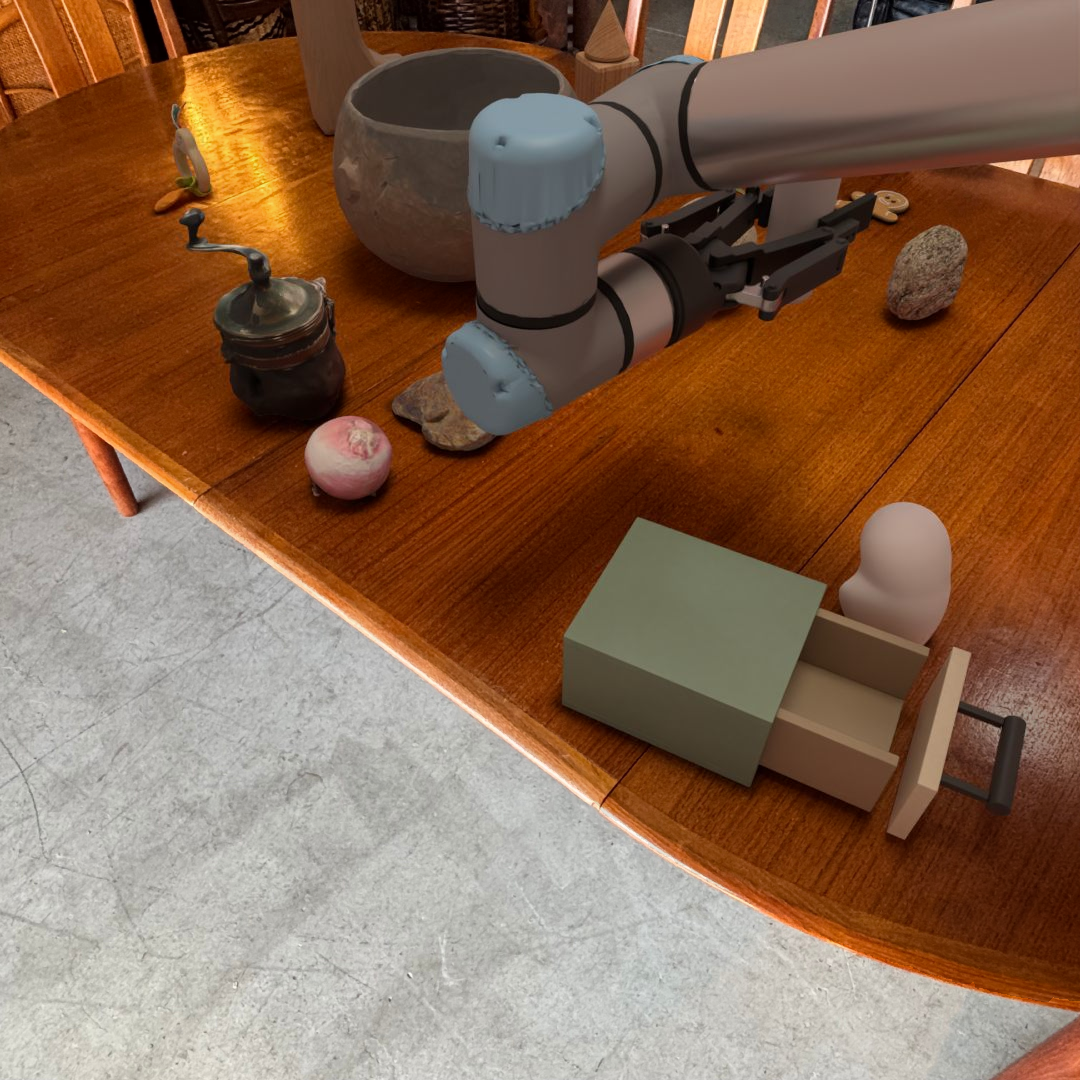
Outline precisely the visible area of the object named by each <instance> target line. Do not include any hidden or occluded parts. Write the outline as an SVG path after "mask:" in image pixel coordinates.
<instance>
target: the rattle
mask: <svg viewBox="0 0 1080 1080" xmlns="http://www.w3.org/2000/svg"><path fill="white" fill-rule="evenodd" d="M187 102H188V101H187V100H185V101H184V103H182V105H181V107H179V105H178V104H177V103H174V104H172V107H171V119H172V123H173V124H174V128H175V134H174V140H173V142H172V155H173V160H174V164H175V166H176V169H177V172H178V174H179V177H177V178H175V180H174V183H175V184H176V185H177V187H178V189H176V190H172V191H170V192H168V193H166V194H165V195H164V196H163V197H161V198H160V199H158V201H157V202H156V203H155V205H154V208H153V210H154V211H155V212H157V213H159V212H163V211H165V210H167V209H169V208H170V207H172V206H173V205H175V203H176V202H177V201H178V200H179V199H180V198H181V197H182V195H183V194H184V193H192V194H193V195H194V196H196V197H199V198H204V197H206V196H208V195H209V194H210V193H212V191H213V185H212V183H211V176H210V172H209V168H208V166H207V163H206V161H205V159H204V157H203V155H202V153H201V151H200V149H199V147H198V144H197V142H196V141H197V140H196V139H195V137H194V135H193V133H192V131H191V130H190V129H189V128H187V127H185V126H182V124H181V123H180V113H181V112H182V109H183V108H184V107H185V106H186V104H187ZM188 160H189V161H190V163H191V165H192V167H193V170H194V173H195V174H194V173H193V171H192V169H191V167H190V164H189V161H188Z"/></svg>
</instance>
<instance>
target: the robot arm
mask: <svg viewBox="0 0 1080 1080" xmlns="http://www.w3.org/2000/svg"><path fill="white" fill-rule="evenodd" d="M1069 156H1080V0H990V1H985V2H980V3H976V4H970V5H966V6H962V7H956V8H951V9H947V10H942V11H938V12H933V13H928V14H922V15H919V16H913V17H908V18H905V19H899V20H894V21H890V22H886V23H879V24H875V25H870V26H866V27H861V28H856V29H852V30H847V31H843V32H837V33H833V34H832V33H831V34H828V35H823V36H817V37H814V38H809V39H805V40H800V41H795V42H789V43H785V44H780V45H776V46H771V47H767V48H762V49H757V50H751V51H747V52H742V53H738V54H733V55H728V56H723V57H719V58H715V59H714V58H713V59H710V60H708V61H707V60H705V59H704V58H701V57H698V56H694V55H691V54H676V55H673V56H670V57H669V56H668V57H666V58H664V59H662V60H659V61H656V62H653V63H651V64H646V65H645V66H642V67H640V69H638V70H637V71H636V72H635V73H634V74H633V75H631V76H630V77H628V78H627V79H626V80H625V81H623V82H622V83H620V84H619V85H617V86H615V87H614V88H612V89H610V90H609V91H607V92H606V93H604V94H602V95H601V96H599V97H598V98H596V99H594V100H593V101H591V102H590V103H588V104H585V103H583V102H581V101H579V100H576V99H573V98H570V97H566V96H563V95H557V94H548V93H531V94H522V95H521V96H520V97H519V98H514V99H508V98H506V99H501V100H498V101H496V102H494V103H492V104H490V105H489V106H487V107H486V108H484V109H483V110H482V111H481V112H480V113H479V114H478V115H477V117H476V118H475V119H474V121H473V123H472V126H471V129H470V133H469V176H468V183H469V184H468V188H467V196H468V202H469V206H470V208H471V220H472V233H473V246H474V259H475V272H476V281H475V284H476V285H475V286H476V294H475V309H476V318H475V319H474V320H471V321H468V322H464V323H463V325H462V327H460V328H458V329H457V330H455V331H453V332H451V333H450V335H448V337H447V338H446V340H445V342H444V343H445V344H444V347H443V349H442V350H441V367H442V370H443V373H444V377H445V380H446V383H447V386H448V388H449V391H450V393H451V395H452V397H453V399H454V400H455V402H456V404H457V405H458V407H459V408H460V409H461V411H462V412H463V413H464V415H465V416H466V417H467V418H468V419H469V420H470V421H471V422H473V423H475V424H476V425H477V426H478V427H479V428H480V429H481V430H483V431H485V432H487V433H490V434H493V435H498V436H506V435H510V434H512V433H514V432H516V431H519V430H522V429H523V428H525V427H527V426H530V425H532V424H534V423H536V422H539V421H540V420H547V419H549V418H551V416H553V413H555V412H556V411H558V410H560V409H561V408H563V407H565V406H567V405H569V404H570V403H572V402H574V401H576V400H577V399H580V398H581V397H582V396H584V395H586V394H588V393H589V392H591V391H593V390H595V389H596V388H598V387H600V386H601V385H603V384H605V383H606V382H609V381H610V380H612V379H614V378H616V377H617V376H619V375H620V374H622V373H625V372H626V371H628V370H630V369H632V368H633V367H635V366H637V365H639V364H641V363H643V362H644V361H646V360H648V359H650V358H651V357H652V356H655V355H657V354H658V353H660V352H661V351H663V350H664V349H667V348H669V347H672V346H673V345H675V344H677V343H678V342H680V341H682V340H684V339H686V338H688V337H690V336H691V335H693V334H695V333H696V332H698V331H700V330H701V329H702V328H703V327H704V326H705V325H706V324H707V323H708V322H709V321H710V319H711V318H713V316H714V315H715V314H716V313H718V312H720V311H726V310H732V309H736V308H737V307H738V306H739V305H740V304H741V305H745V306H748V307H752V308H756V309H758V311H757V312H758V313H757V318H758V319H759V320H760V321H762V322H771V321H774V320H775V318H776V317H777V316H778V314H779V313H780V312H781V310H782V308H783V307H785V306H787V305H790V304H789V303H790V302H792V301H794V300H796V299H797V298H799V297H801V296H803V295H804V294H806V293H808V292H810V291H811V290H813V289H814V290H815V289H817V288H819V287H820V286H822V285H823V284H826V283H828V282H829V281H831V280H832V279H834V278H836V277H837V276H839V275H841V274H842V272H843V268H844V264H845V260H846V257H847V253H848V249H849V245H850V244H851V243H853V242H855V240H856V237H857V234H859V233H861V232H863V231H865V230H866V229H868V228H869V227H870V225H871V224H870V223H871V220H872V218H873V216H872V213H873V210H874V206H875V203H876V199H877V195H874V194H875V193H872V192H867V193H865V194H866V195H864V196H862V197H860V198H858V199H856V200H854V201H853V200H852V202H850V203H848V204H847V205H845V206H843V207H841V208H839V209H837V210H835V211H833V212H831V213H830V214H828V215H826V216H824V217H822V218H820V219H819V221H818V225H817V228H816V229H812V230H809V231H805V232H802V233H798V234H795V235H791V236H788V237H785V238H781V239H778V240H774V241H771V242H767V243H765V242H764V243H761V244H758V245H757V244H755V243H754V242H747V243H744V244H740V245H737V246H733V247H731V246H732V245H733V244H734V243H735V242H736V241H737V240H738V239H740V238H741V237H742V236H743V235H744V234H745V233H746V232H747V231H748V230H749V229H750V228H751V227H753V226H755V223H756V220H757V223H756V226H758V227H760V228H762V229H767V227H768V222H769V216H770V211H771V206H772V201H773V196H774V190H775V185H777V184H788V183H798V182H808V181H818V180H828V179H838V178H842V179H846V178H847V179H848V178H858V177H869V176H877V175H888V174H897V173H909V172H918V171H927V170H928V171H929V170H937V169H949V168H958V167H968V166H980V165H990V164H999V163H1008V162H1010V163H1011V162H1019V161H1021V162H1022V161H1029V160H1031V161H1032V160H1038V159H1039V160H1040V159H1049V158H1059V157H1060V158H1061V157H1069ZM767 186H768V187H767ZM762 187H767V188H765V189H763V190H761V188H762ZM737 188H740V189H744V191H745V194H744V195H741V194H737V193H738V192H737V190H736V189H737ZM705 193H709V194H707V195H704V196H705V197H704V196H702V197H703V198H701V199H699V200H697V201H695V202H693V203H690V204H688V205H686V206H684V207H682V206H681V207H682V208H681V207H680V208H678V209H676V210H673V211H672V212H670V213H667V214H665V215H662V216H655V217H651V218H647V219H643V220H642V221H641V222H640V231H639V232H640V233H639V242H637V243H636V244H633V245H631V246H629V247H627V248H625V249H623V250H621V251H620V252H616V253H612V254H611V255H609V256H607V257H605V258H602V259H601V260H599V257H600V251H601V248H602V247H603V246H605V244H607V243H608V242H609V241H611V240H612V239H613V238H615V237H616V236H617V235H619V234H620V233H622V232H623V231H624V230H625V229H627V228H628V227H629V226H630V225H632V224H633V223H635V222H636V221H638V220H639V219H640V218H642V217H643V216H644V215H645V214H647V213H648V212H650V210H652V209H653V208H655V207H656V206H657V205H659V204H660V203H662V202H663V201H664V200H666V199H669V198H671V197H675V196H684V195H695V194H705ZM718 208H719V211H718ZM814 290H813V291H814Z"/></svg>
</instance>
